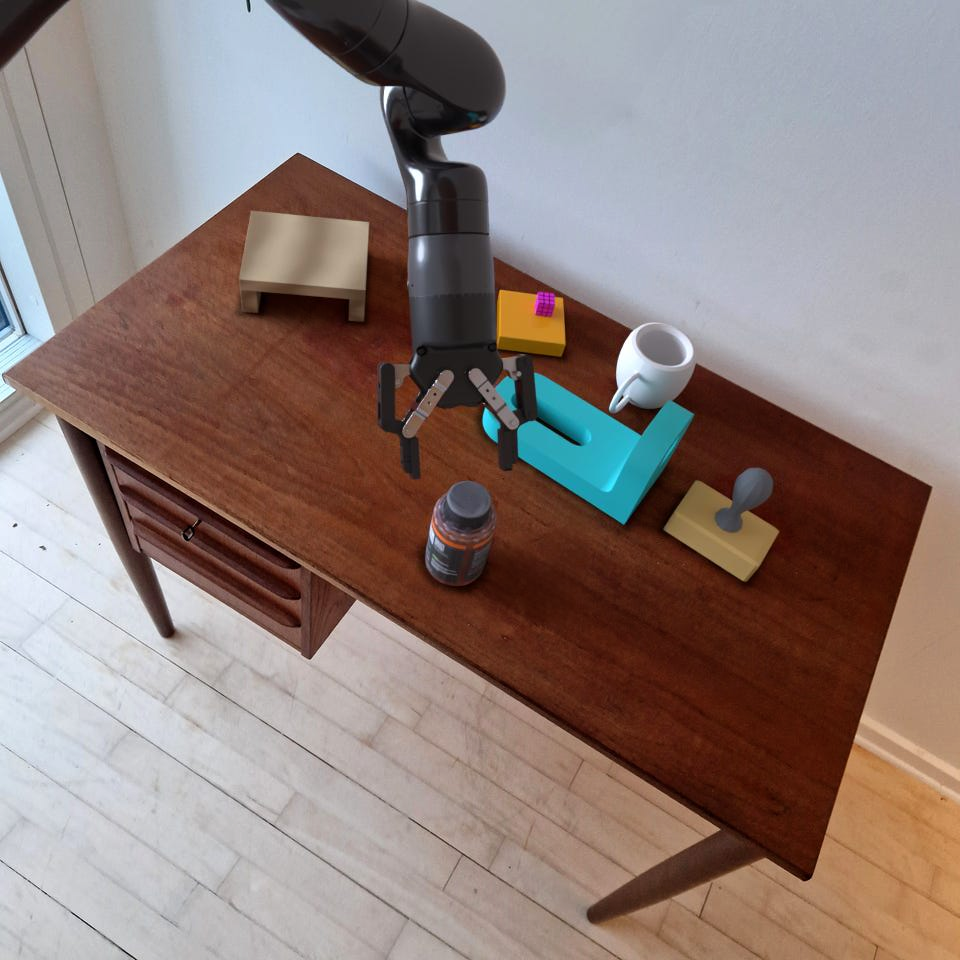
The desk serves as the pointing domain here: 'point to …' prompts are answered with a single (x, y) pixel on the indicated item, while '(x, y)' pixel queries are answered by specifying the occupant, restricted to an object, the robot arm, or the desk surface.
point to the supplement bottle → (460, 534)
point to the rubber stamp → (727, 523)
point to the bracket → (593, 446)
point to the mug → (653, 366)
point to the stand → (305, 259)
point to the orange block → (530, 323)
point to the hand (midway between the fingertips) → (461, 473)
